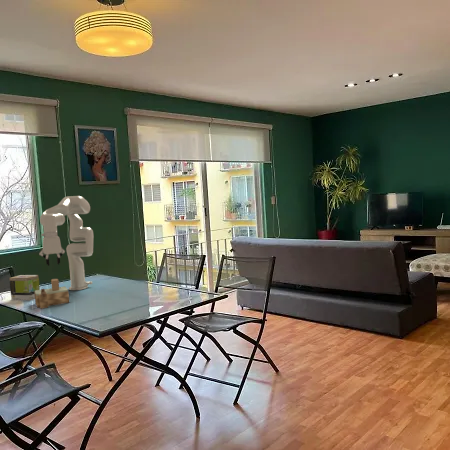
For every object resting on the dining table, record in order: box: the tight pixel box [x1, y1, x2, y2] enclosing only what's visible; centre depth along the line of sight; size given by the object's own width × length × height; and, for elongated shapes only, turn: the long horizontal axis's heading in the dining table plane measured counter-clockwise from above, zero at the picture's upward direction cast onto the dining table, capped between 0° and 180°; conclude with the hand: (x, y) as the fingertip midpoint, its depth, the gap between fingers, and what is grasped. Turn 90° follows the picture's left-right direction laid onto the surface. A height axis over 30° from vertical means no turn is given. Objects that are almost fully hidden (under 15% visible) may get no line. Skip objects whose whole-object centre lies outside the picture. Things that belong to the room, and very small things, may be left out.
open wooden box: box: [34, 290, 70, 309], centre depth 270 cm, size 18×16×8 cm
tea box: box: [8, 274, 41, 301], centre depth 287 cm, size 15×10×15 cm, turn 71°
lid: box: [35, 278, 69, 296], centre depth 271 cm, size 18×12×8 cm, turn 118°
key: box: [40, 288, 47, 297], centre depth 257 cm, size 2×10×3 cm, turn 28°
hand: (53, 264), depth 271 cm, fingers open, 4 cm apart
